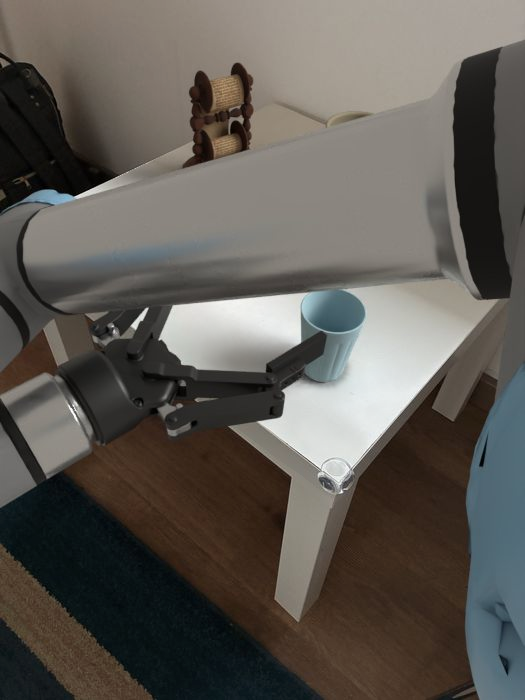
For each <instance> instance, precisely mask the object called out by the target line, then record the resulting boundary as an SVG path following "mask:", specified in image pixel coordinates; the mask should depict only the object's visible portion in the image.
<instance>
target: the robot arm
mask: <svg viewBox="0 0 525 700" xmlns="http://www.w3.org/2000/svg"><path fill="white" fill-rule="evenodd" d="M443 280H444V281H445V280H449V281H451V282H453V283H455V284H456V285H457V286H459V287H460V288H461V289H462V290H463V291H465V292H467V294H469V295H470V296H471V297H473V298H474V299H475V300H477V301H490V300H504V299H509V301H508V307H507V313H506V321H505V327H504V335H503V342H502V348H501V355H500V361H499V367H498V368H499V369H498V376H497V382H496V389H495V396H494V401H493V402H494V403H493V405H492V406H491V407H490V410H489V412H488V414H487V417H486V420H485V423H484V424H483V427H482V430H481V432H480V435H479V437H478V439H477V442H476V444H475V447H474V453H473V456H472V460H471V464H470V468H469V469H470V470H469V472H470V473H469V480H468V483H467V488H466V496H465V497H466V498H465V506H466V507H465V508H466V514H467V522H468V556H469V559H470V563H469V564H470V566H469V575H468V584H467V593H466V594H467V595H466V604H465V614H464V615H465V617H464V618H465V620H464V632H465V644H466V653H467V657H468V662H469V666H470V671H471V676H472V681H473V685H474V687H475V690H476V694H477V696H478V699H479V700H525V39H522V40H519V41H515V42H512V43H510V44H507V45H503V46H500V47H496V48H493V49H489V50H487V51H483V52H480V53H477V54H474V55H471V56H468V57H465V58H463V59H459V60H457V61H456V62H455V63H454V64H453V65H452V67H451V68H450V70H449V72H448V73H447V75H446V76H445V78H444V79H443V81H442V82H441V83H440V85H439V87H438V89H437V90H436V92H435V93H433V95H431V96H430V97H429V98H425V99H421V100H417V101H415V102H411V103H407V104H404V105H400V106H397V107H393V108H390V109H386V110H383V111H379V112H376V113H374V114H372V115H369V116H365V117H362V118H358V119H355V120H351V121H348V122H344V123H341V124H337V125H334V126H330V127H327V128H325V127H323V128H320V129H316V130H312V131H310V132H306V133H303V134H300V135H296V136H292V137H289V138H286V139H282V140H278V141H275V142H271V143H267V144H264V145H261V146H257V147H254V148H250V150H246V151H243V152H239V153H236V154H232V155H229V156H225V157H222V158H218V159H215V160H211V161H208V162H204V163H201V164H197V165H194V166H190V167H187V168H183V169H182V168H181V169H177V170H173V171H170V172H167V173H163V174H159V175H156V176H152V177H149V178H145V179H142V180H139V181H135V182H131V183H128V184H124V185H121V186H117V187H114V188H111V189H106V190H104V191H100V192H96V193H93V194H89V195H86V196H81V197H78V198H76V197H74V196H73V195H70V194H69V193H60V192H58V191H57V190H54V189H41V190H38V191H35V192H33V193H31V194H30V195H29V196H27V197H25V198H24V199H22V200H21V201H18V202H16V203H15V204H13V205H11V206H8V207H7V208H6V209H4V210H2V211H1V213H0V373H1V372H2V371H4V370H5V368H6V367H8V365H9V364H10V363H12V361H13V360H14V359H15V358H17V356H18V355H19V354H20V353H21V352H22V351H23V350H24V349H25V348H26V347H27V346H28V345H29V344H30V343H31V342H32V341H33V340H34V339H35V338H36V337H37V336H38V334H40V333H41V332H42V330H44V329H45V328H46V327H47V325H48V324H49V323H50V322H51V321H53V320H55V319H57V318H61V317H71V316H76V315H87V314H88V315H89V314H97V313H106V314H104V315H102V316H100V317H98V318H97V319H95V320H94V321H92V322H91V323H89V325H88V329H89V333H90V336H91V340H92V344H93V347H94V348H96V349H88V350H87V351H84V352H83V353H81V354H78V355H77V356H75V357H72V358H71V359H69V360H67V361H65V362H63V363H61V364H59V365H57V369H55V374H54V375H52V374H51V373H49V372H42V373H39V374H38V375H36V376H34V377H32V378H30V379H27V380H26V381H24V382H22V383H20V384H18V385H16V386H15V387H12V388H10V389H8V390H6V391H4V392H2V393H1V394H0V509H1V508H3V507H5V506H6V505H8V504H9V503H11V502H12V501H14V500H16V499H17V498H19V497H21V496H23V495H24V494H26V493H27V492H29V491H31V490H32V489H34V488H36V487H37V486H38V485H40V484H41V483H43V482H45V481H46V480H48V479H50V478H52V477H54V476H55V475H57V474H59V473H60V472H62V471H63V470H66V469H67V468H69V467H70V466H72V465H74V464H75V463H77V462H79V461H80V460H82V459H85V457H87V456H89V455H91V454H92V452H93V444H96V445H97V446H99V447H101V446H103V447H105V446H107V445H109V444H111V443H112V442H114V441H116V440H117V439H119V438H121V437H122V436H124V435H126V434H128V433H129V432H131V431H133V430H134V429H136V428H137V427H138V426H139V425H140V424H141V423H142V422H143V421H144V420H145V419H147V418H152V417H154V416H155V417H156V416H158V417H159V419H160V420H161V422H162V424H163V425H164V427H165V430H166V436H167V439H168V440H169V441H171V442H178V441H180V440H183V439H185V438H186V437H189V436H190V435H193V434H195V433H197V432H201V431H209V430H214V429H220V428H227V427H233V426H238V425H239V426H240V425H244V424H251V423H256V422H263V421H269V420H274V419H275V420H276V419H279V418H281V417H282V416H283V414H284V410H285V409H284V408H285V401H286V394H285V392H284V391H283V390H285V389H287V388H288V387H289V386H291V385H293V384H294V383H296V382H298V381H299V380H300V379H302V378H303V377H304V375H305V373H304V372H305V367H306V365H308V364H309V363H311V362H313V361H314V360H316V359H317V358H319V357H320V356H322V355H323V354H324V349H325V344H326V339H327V335H326V334H325V333H324V332H323V331H322V330H321V331H320V332H318V333H316V334H315V335H313V336H311V337H310V338H308V339H306V340H305V341H303V342H302V343H301V342H300V343H298V344H296V345H295V346H293V347H292V348H290V349H288V350H286V351H285V352H283V353H282V354H280V355H278V356H277V357H275V358H273V359H272V360H270V361H268V362H266V363H265V372H264V371H246V370H245V371H242V370H240V371H239V370H219V369H216V370H215V369H200V368H199V369H198V368H196V367H195V366H194V365H191V364H182V360H181V359H180V358H179V357H178V355H176V354H175V353H173V352H172V351H170V349H169V347H168V345H167V344H166V343H165V341H164V340H163V339H162V338H161V335H162V332H163V330H164V328H165V326H166V324H167V321H168V318H169V316H170V314H171V312H172V309H173V307H174V306H182V305H191V304H202V303H212V302H223V301H224V302H225V301H234V300H243V299H244V300H245V299H255V298H265V297H276V296H286V295H287V296H288V295H298V294H308V293H310V292H319V291H329V290H340V289H344V290H349V289H361V288H369V287H380V286H392V285H402V284H413V283H422V282H433V281H443ZM146 309H147V310H146ZM145 310H146V313H145V315H144V317H143V319H142V320H140V321H139V322H138V325H137V327H136V329H135V331H134V333H133V335H132V337H131V338H121V337H122V336H123V335H124V334H125V333H126V332H128V330H129V329H130V328H131V327H132V326H133V324H134V323H135V322H136V320H138V319H139V317H140V316H141V315H142V314H143V313H144V311H145ZM160 338H161V339H160ZM99 349H100V350H99ZM183 381H184V383H185V385H182V383H183ZM199 398H200V399H207V400H202V401H196V402H192V401H195V400H196V399H199ZM174 401H183V402H184V401H185V402H192V403H189V404H186V405H184V404H183V403H181V402H180V403H176V404H175V405H173V402H174Z"/></svg>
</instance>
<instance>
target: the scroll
mask: <svg viewBox="0 0 525 700" xmlns="http://www.w3.org/2000/svg"><path fill="white" fill-rule="evenodd" d="M253 85H254V77H253V76H252V75H251V74H250V73H249V72H248V71H247V69H246V68H245V66H244V65H243V64H242V63H241V62H234V63H233V64H232V66H231V69H230V75H228V76H223V77H218V78H214V79H210V78H209V77H208V75H207V73H206V71H203V70H198V71H196V73H195V75H194V81H193V86H191V87H190V88H189V90H188V95H189V97H190V101H189V102H190V103H191V104H192V107H191V115H192V116H191V117H190V118H189V126H190V128H191V129H192V132H193V136H192V142H193V145H192V147H191V151H192V153H193V156H191V157H189V158H188V159H187V160H186V161H184V163H183V164H182V166H181V169H183V168H187V167H190V166H194V165H197V164H201V163H204V162H208V161H211V160H215V159H218V158H222V157H225V156H229V155H232V154H236V153H239V152H243V151H246V150H250V149H251V148H250V145H251V140H252V137H253V133H252V132H251V128H252V125H251V121H250V120H251V119H252V116H253V115H254V111H255V110H254V106H253V104H252V99H253V97H252V94H251V91H252V90H253V87H252V86H253ZM238 107H239V108H238ZM230 109H231V110H230ZM240 116H241V118H242V119H243V121H242V123H241V122H240V121H239V120H237V119H235V120H233V121H231V123H230V119H231V118H240Z"/></svg>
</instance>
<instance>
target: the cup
mask: <svg viewBox="0 0 525 700" xmlns="http://www.w3.org/2000/svg"><path fill="white" fill-rule="evenodd" d="M367 314H368V313H367V307H366V306H365V304H364V302H363V301H362V299H361V298H360V297H359V296H357V295H356V294H354V293H353V292H351V291H349V290H348V289H340V290H329V291H319V292H308V293H306V295H305V296H304V297H303V299H302V300H301V303H300V343H302V342H303V341H305V340H306V339H308V338H310V337H311V336H313V335H315V334H316V333H318V332H320V331H321V330H322V331H323V332H324V333H325V334H326V335H327V339H326V344H325V349H324V354H323V355H322V356H320V357H319V358H317V359H316V360H314V361H313V362H311V363H309V364H308V365H306V367H305V372H304V375H305V376H307V377H308V378H310V379H311V380H314V381H316V382H319V383H329V382H330V383H331V382H333V381H336V380H337V379H339V378H340V377H341V376H342V374H343V372H344V370H345V368H346V365H347V363H348V361H349V360H350V359H349V358H350V356H351V354H352V351H353V349H354V348H355V345H356V342H357V340H358V339H359V336H360V333H361V332H362V329H363V327H364V325H365V322H366V320H367V316H368V315H367Z"/></svg>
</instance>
